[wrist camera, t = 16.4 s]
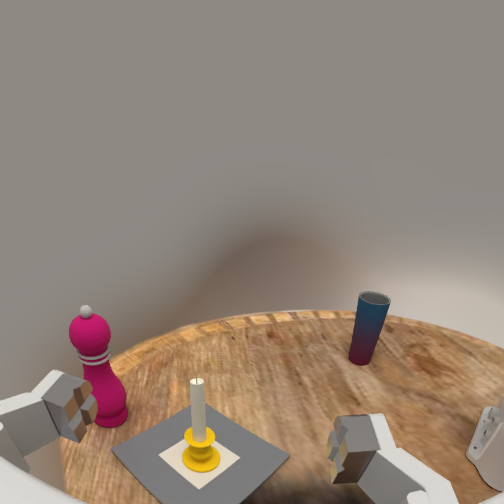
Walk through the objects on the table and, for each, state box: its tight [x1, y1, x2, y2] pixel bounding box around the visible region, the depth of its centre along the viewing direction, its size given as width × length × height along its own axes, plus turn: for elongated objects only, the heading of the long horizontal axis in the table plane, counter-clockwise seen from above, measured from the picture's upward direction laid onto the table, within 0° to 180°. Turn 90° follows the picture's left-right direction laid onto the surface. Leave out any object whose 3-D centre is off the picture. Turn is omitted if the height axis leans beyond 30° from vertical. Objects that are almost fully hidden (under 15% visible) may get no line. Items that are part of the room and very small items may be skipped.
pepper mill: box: [69, 305, 128, 428], centre depth 37 cm, size 7×7×20 cm
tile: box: [111, 403, 290, 504], centre depth 34 cm, size 18×18×1 cm
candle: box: [182, 377, 220, 473], centre depth 32 cm, size 5×5×16 cm
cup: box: [349, 291, 391, 365], centre depth 60 cm, size 7×7×15 cm
